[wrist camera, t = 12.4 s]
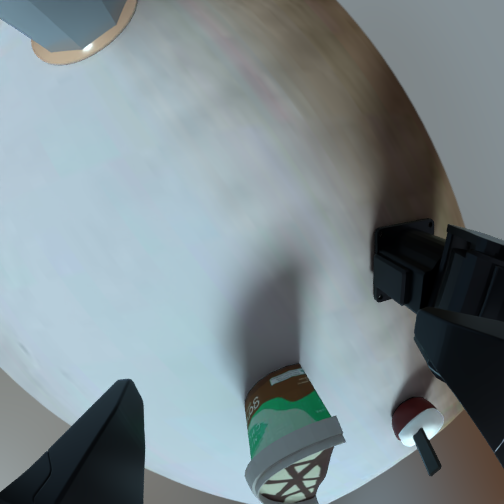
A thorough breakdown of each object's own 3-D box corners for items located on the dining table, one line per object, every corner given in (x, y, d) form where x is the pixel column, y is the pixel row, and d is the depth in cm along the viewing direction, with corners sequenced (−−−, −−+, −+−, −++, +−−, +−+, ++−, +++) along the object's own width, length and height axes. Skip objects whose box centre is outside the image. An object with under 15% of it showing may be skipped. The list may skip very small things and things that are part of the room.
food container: (228, 358, 23) (247, 458, 13) (300, 350, 24) (347, 437, 14) (235, 442, 26) (250, 518, 17) (290, 434, 27) (317, 505, 18)
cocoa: (425, 403, 32) (471, 453, 21) (392, 431, 32) (433, 486, 21) (415, 376, 28) (475, 437, 17) (375, 410, 28) (427, 478, 17)
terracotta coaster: (137, -37, 12) (137, -40, 11) (139, 42, 15) (138, 39, 14) (39, -1, 11) (37, -3, 10) (31, 82, 14) (28, 81, 13)
